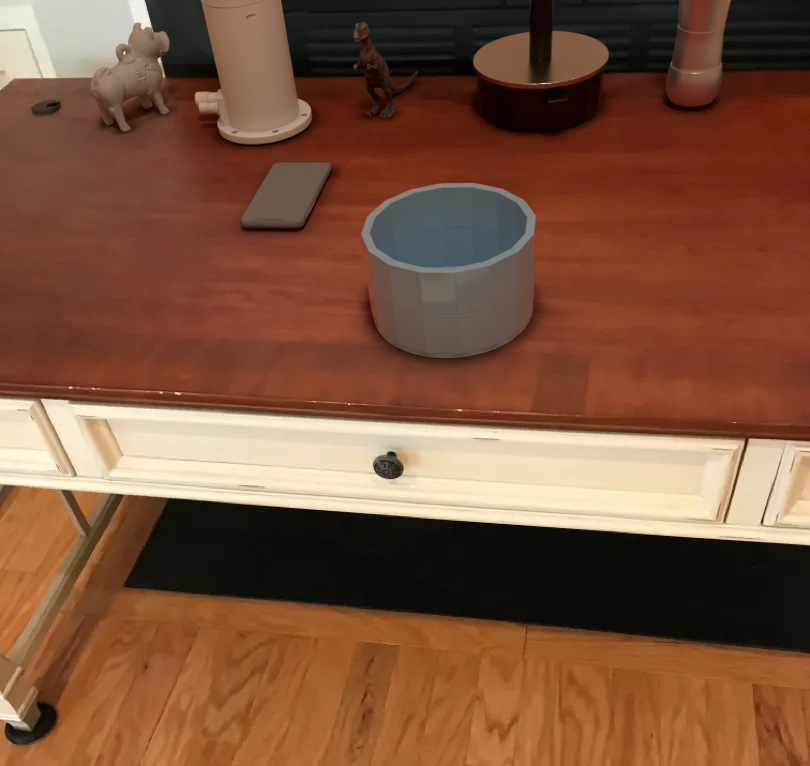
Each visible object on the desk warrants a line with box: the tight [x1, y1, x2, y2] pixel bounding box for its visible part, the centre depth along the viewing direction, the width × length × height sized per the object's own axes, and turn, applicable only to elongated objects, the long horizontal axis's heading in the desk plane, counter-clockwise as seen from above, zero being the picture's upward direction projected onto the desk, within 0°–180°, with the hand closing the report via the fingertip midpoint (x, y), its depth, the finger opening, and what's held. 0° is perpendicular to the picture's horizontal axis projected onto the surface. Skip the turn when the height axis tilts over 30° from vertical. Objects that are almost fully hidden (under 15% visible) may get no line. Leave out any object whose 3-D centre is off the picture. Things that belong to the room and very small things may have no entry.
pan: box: [476, 68, 605, 134], centre depth 115 cm, size 16×21×6 cm
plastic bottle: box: [665, 0, 732, 108], centre depth 106 cm, size 6×7×20 cm
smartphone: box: [239, 161, 333, 229], centre depth 105 cm, size 8×1×15 cm
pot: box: [360, 182, 537, 359], centre depth 85 cm, size 16×16×9 cm
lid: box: [472, 0, 610, 89], centre depth 110 cm, size 17×17×8 cm
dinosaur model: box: [353, 21, 419, 119], centre depth 117 cm, size 4×12×15 cm
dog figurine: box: [89, 21, 170, 132], centre depth 122 cm, size 5×13×11 cm, turn 138°
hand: (544, 2), depth 108 cm, fingers open, 9 cm apart
